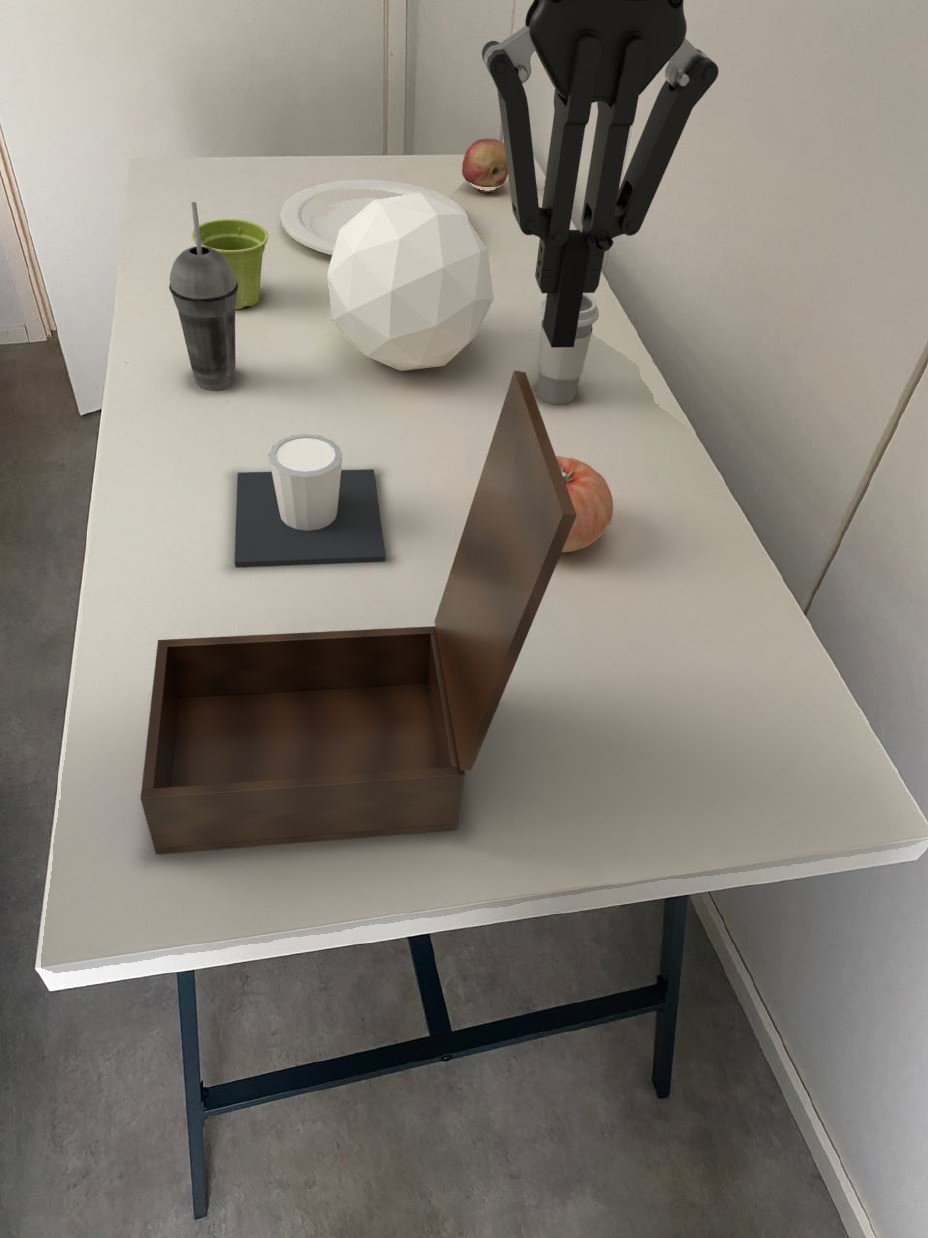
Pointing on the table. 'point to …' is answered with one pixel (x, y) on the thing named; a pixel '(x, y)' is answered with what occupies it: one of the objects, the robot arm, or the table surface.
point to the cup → (565, 357)
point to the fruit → (485, 164)
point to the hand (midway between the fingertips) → (558, 336)
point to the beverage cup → (206, 311)
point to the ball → (409, 282)
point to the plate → (341, 210)
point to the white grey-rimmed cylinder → (306, 480)
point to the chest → (299, 739)
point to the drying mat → (280, 544)
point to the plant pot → (238, 253)
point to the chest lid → (501, 566)
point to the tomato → (586, 502)
